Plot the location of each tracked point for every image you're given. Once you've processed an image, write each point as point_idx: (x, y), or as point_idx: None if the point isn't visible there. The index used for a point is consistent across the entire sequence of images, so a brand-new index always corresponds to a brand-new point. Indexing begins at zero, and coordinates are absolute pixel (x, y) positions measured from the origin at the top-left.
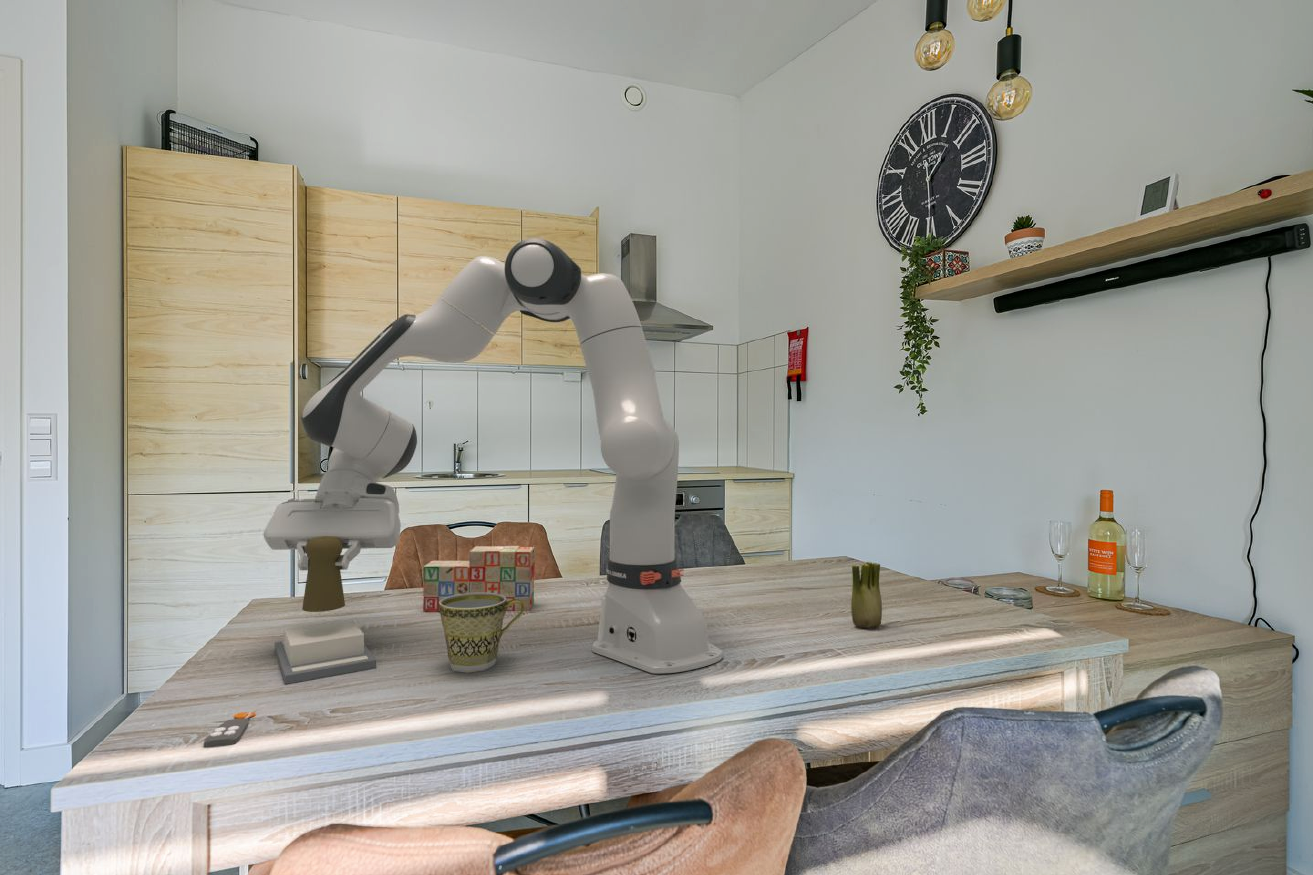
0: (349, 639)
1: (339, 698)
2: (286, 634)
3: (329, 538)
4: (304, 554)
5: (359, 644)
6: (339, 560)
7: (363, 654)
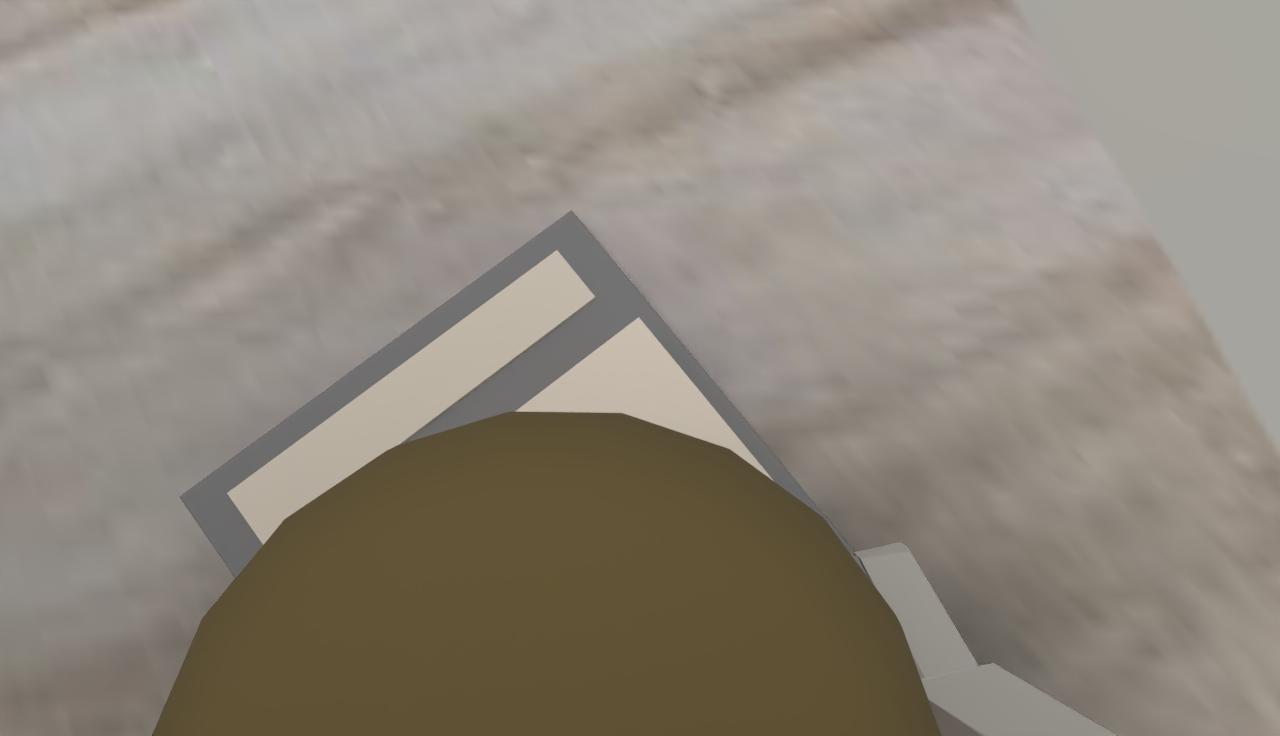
0: None
1: (211, 91)
2: None
3: (303, 725)
4: (925, 687)
5: None
6: None
7: None
